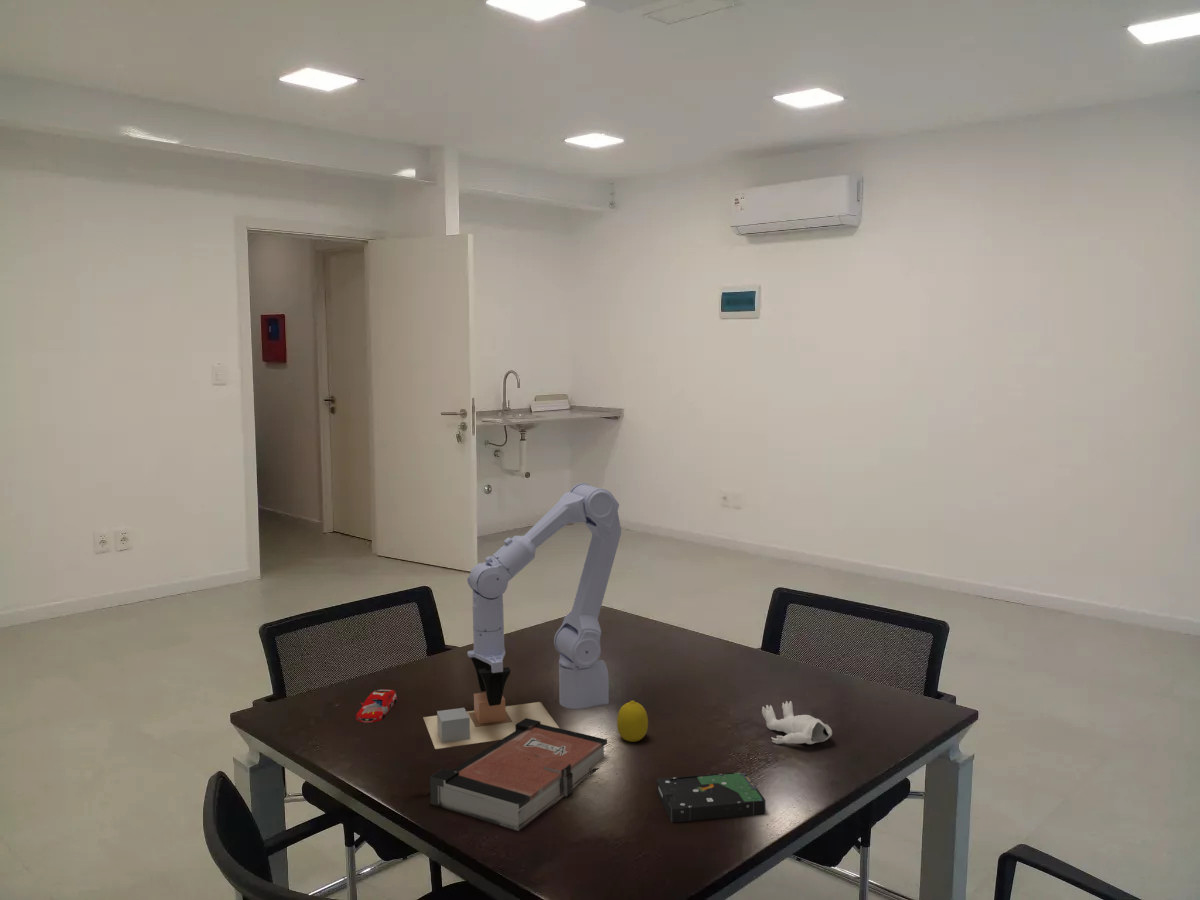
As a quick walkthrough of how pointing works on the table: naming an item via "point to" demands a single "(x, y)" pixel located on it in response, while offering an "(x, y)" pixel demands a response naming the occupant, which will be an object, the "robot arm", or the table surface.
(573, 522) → the robot arm
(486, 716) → the terracotta brick
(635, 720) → the lemon
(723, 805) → the disk drive
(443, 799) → the book
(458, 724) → the grey brick
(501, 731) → the board
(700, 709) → the table surface
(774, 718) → the toy creature
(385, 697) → the race car
